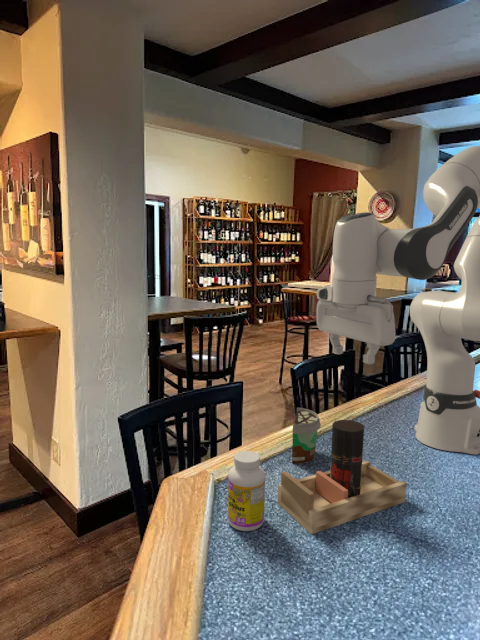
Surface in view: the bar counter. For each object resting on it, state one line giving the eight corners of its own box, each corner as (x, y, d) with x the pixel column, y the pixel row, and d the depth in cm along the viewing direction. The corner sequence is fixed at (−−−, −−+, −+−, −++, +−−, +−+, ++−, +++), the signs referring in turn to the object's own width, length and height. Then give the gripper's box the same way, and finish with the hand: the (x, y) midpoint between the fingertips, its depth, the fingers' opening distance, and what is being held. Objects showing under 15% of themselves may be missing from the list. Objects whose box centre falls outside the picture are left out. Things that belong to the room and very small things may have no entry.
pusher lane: (366, 477, 101) (367, 447, 100) (405, 501, 92) (407, 469, 90) (277, 503, 90) (278, 470, 89) (311, 534, 81) (313, 497, 80)
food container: (318, 469, 105) (320, 427, 103) (291, 466, 106) (292, 425, 104) (320, 446, 117) (321, 408, 115) (295, 444, 118) (297, 406, 116)
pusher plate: (319, 489, 93) (320, 470, 93) (347, 510, 86) (348, 490, 85) (315, 490, 93) (315, 471, 92) (342, 511, 86) (343, 491, 85)
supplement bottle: (220, 519, 85) (221, 453, 83) (249, 507, 89) (250, 445, 87) (242, 537, 80) (243, 468, 78) (271, 524, 84) (273, 458, 81)
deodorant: (325, 490, 94) (328, 420, 91) (354, 489, 94) (358, 419, 92) (334, 506, 88) (337, 432, 85) (364, 505, 88) (368, 431, 86)
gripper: (404, 297, 87) (401, 367, 90) (333, 288, 105) (333, 347, 108) (380, 300, 84) (377, 372, 87) (311, 290, 102) (311, 350, 105)
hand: (352, 358), depth 97 cm, fingers open, 8 cm apart
